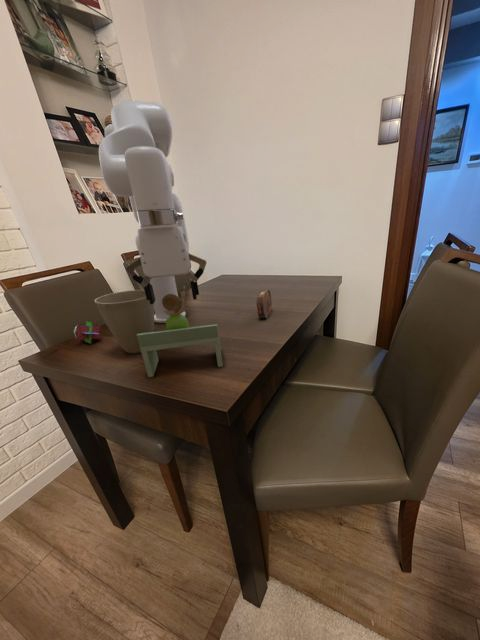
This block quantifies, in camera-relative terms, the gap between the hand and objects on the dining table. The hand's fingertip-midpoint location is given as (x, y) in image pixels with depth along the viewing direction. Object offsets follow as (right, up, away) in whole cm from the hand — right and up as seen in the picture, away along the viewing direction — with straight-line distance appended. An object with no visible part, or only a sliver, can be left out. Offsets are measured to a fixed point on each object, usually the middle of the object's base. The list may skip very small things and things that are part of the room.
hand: (174, 300), depth 66 cm
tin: (+22, +1, +39) cm, 45 cm away
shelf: (+1, -15, +7) cm, 17 cm away
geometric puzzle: (-35, -9, +26) cm, 44 cm away
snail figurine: (+1, -8, +4) cm, 9 cm away
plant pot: (-16, -11, +18) cm, 27 cm away
